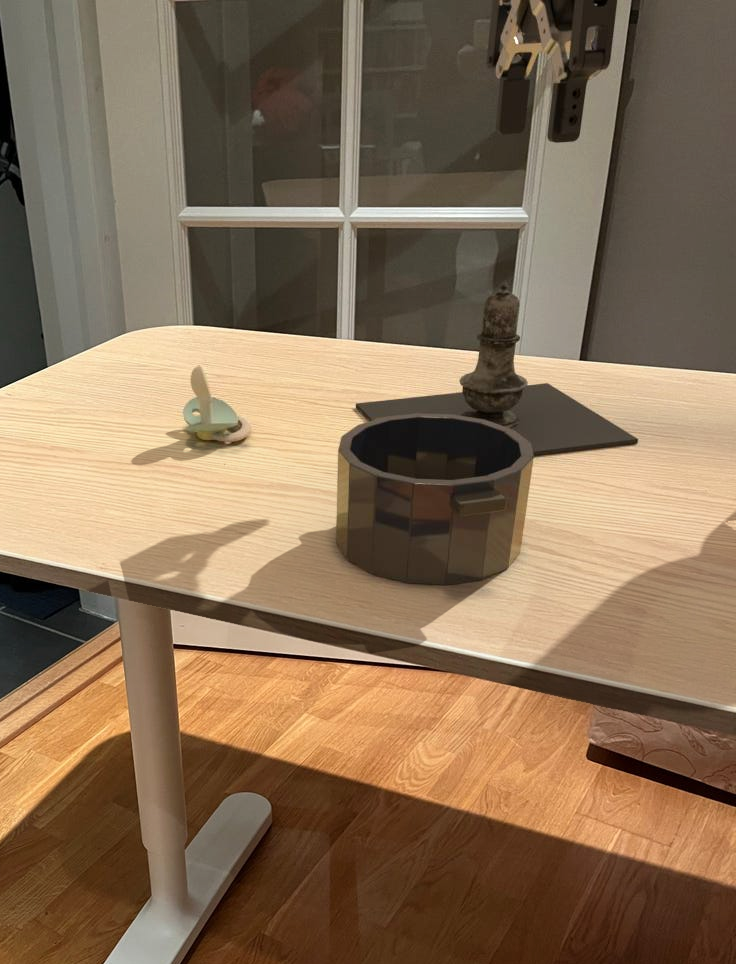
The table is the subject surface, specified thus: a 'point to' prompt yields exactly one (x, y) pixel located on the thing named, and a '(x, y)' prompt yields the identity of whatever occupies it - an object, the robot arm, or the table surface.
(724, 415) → the table surface
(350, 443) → the pot
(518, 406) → the mat
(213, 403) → the pacifier
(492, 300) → the salt shaker
